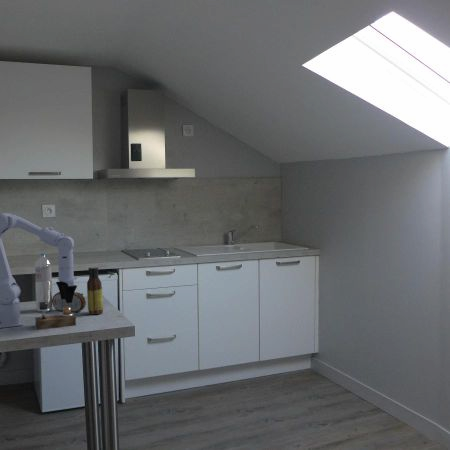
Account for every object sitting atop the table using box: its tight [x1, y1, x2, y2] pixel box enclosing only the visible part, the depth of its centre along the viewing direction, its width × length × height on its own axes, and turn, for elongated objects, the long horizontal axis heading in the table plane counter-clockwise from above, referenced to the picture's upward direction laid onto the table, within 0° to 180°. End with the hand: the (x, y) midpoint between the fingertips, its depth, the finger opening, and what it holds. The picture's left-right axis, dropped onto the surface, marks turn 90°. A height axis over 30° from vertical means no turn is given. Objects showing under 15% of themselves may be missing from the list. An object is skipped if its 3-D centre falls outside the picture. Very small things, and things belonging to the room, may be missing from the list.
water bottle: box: [34, 252, 53, 313], centre depth 260 cm, size 7×7×25 cm
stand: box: [34, 314, 77, 330], centre depth 237 cm, size 14×7×3 cm, turn 119°
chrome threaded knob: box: [36, 302, 51, 319], centre depth 234 cm, size 5×5×6 cm
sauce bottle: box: [86, 266, 104, 315], centre depth 256 cm, size 7×6×20 cm
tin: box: [52, 291, 86, 313], centre depth 260 cm, size 15×3×8 cm, turn 74°
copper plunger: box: [59, 307, 75, 317], centre depth 239 cm, size 5×5×6 cm
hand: (66, 301), depth 238 cm, fingers open, 7 cm apart
